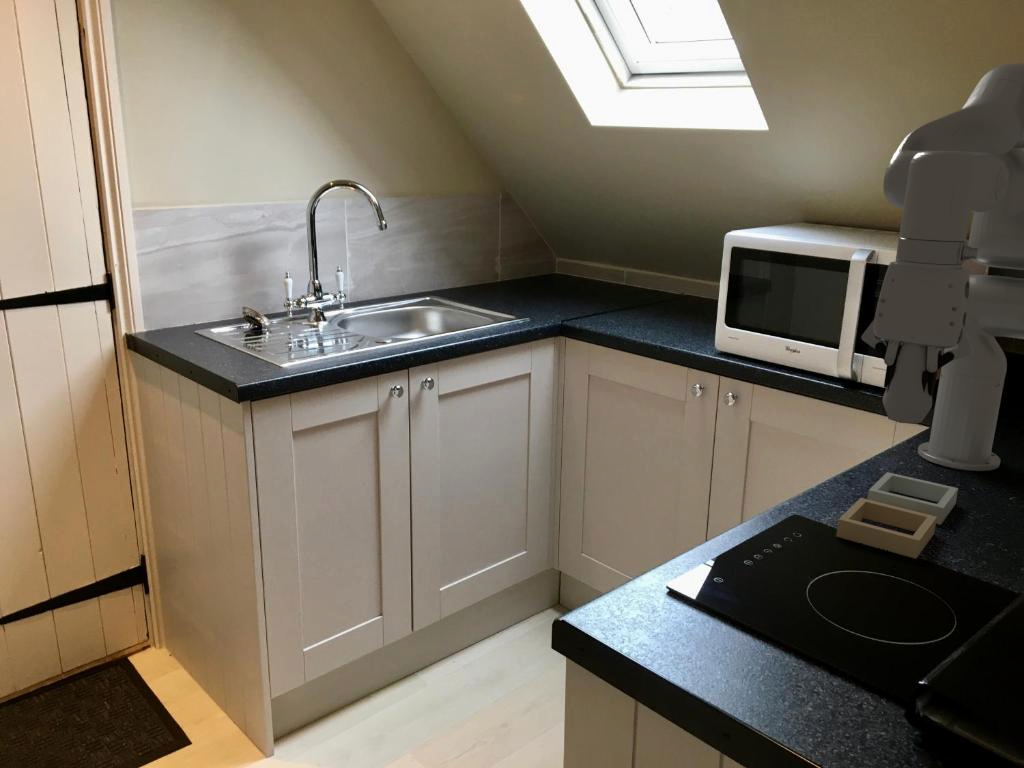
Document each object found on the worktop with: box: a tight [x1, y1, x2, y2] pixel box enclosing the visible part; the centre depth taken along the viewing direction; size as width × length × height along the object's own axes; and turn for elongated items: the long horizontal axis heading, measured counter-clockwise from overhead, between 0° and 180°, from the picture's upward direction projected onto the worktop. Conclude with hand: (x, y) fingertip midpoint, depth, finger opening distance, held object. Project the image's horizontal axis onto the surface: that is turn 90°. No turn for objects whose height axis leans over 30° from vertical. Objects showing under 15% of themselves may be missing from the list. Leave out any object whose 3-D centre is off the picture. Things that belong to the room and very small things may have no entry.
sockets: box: [836, 471, 959, 559], centre depth 120 cm, size 24×10×2 cm, turn 142°
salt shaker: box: [882, 334, 933, 425], centre depth 109 cm, size 6×6×13 cm
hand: (907, 395), depth 110 cm, fingers closed on salt shaker, 3 cm apart
